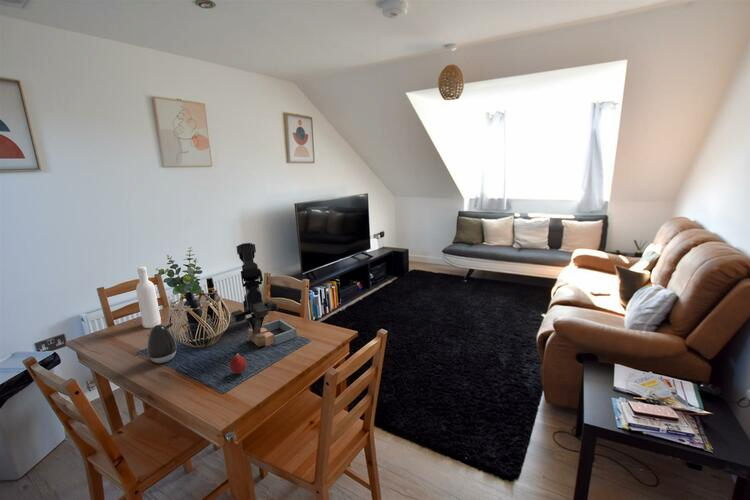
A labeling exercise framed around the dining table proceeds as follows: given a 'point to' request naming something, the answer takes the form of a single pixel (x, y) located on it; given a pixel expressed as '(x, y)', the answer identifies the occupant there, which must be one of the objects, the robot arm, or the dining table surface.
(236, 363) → the onion
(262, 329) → the block
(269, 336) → the block
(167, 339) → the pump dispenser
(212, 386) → the dining table surface
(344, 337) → the dining table surface
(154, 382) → the dining table surface
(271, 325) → the box
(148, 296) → the bottle
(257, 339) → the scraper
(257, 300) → the robot arm
